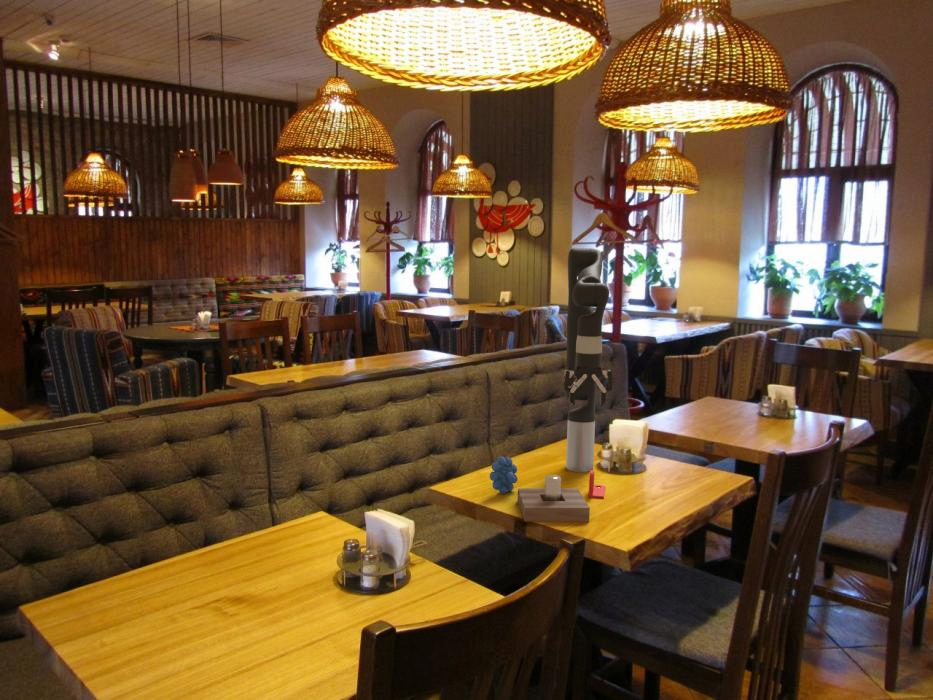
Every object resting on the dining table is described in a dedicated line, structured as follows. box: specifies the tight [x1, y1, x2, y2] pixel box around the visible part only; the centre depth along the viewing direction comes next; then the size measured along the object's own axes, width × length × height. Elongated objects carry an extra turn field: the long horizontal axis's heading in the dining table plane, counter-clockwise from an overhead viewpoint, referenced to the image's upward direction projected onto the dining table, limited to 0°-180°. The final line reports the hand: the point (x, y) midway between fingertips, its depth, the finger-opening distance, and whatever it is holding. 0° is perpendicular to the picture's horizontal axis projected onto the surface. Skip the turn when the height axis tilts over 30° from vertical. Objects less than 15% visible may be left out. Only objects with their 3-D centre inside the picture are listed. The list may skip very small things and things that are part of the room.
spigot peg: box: [544, 474, 562, 501], centre depth 222 cm, size 4×4×10 cm
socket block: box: [517, 487, 591, 523], centre depth 222 cm, size 18×18×4 cm
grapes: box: [489, 456, 519, 495], centre depth 237 cm, size 12×7×12 cm, turn 133°
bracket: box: [588, 469, 607, 500], centre depth 240 cm, size 12×4×8 cm, turn 167°
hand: (587, 404), depth 230 cm, fingers open, 8 cm apart
